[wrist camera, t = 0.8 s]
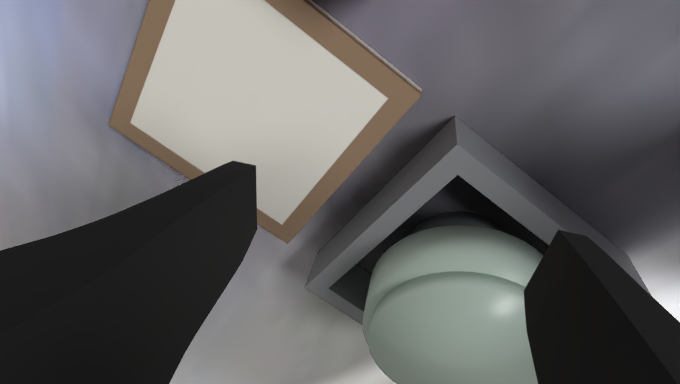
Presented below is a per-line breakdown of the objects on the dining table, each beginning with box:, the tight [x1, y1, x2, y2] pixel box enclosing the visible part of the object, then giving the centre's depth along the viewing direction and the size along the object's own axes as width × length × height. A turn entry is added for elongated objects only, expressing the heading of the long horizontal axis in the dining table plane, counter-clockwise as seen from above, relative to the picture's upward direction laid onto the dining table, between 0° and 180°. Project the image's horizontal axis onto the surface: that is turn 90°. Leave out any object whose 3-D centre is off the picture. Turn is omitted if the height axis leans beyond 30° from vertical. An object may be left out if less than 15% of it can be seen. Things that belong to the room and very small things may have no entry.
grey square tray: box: [305, 116, 651, 325], centre depth 21 cm, size 12×12×3 cm
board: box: [109, 0, 422, 244], centre depth 20 cm, size 12×12×1 cm
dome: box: [363, 225, 543, 384], centre depth 18 cm, size 9×9×3 cm
